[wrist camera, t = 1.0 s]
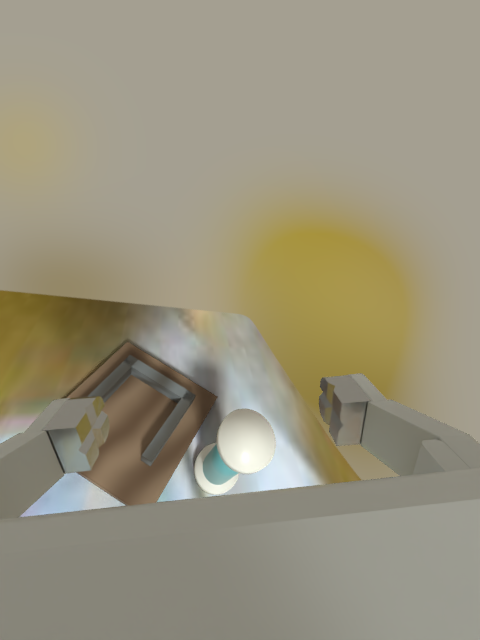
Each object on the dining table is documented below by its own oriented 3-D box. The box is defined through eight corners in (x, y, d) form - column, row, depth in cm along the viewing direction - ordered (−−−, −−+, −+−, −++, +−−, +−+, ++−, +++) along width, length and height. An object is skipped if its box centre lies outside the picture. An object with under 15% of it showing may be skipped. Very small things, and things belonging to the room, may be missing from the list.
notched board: (27, 439, 33) (18, 429, 31) (127, 346, 46) (127, 332, 43) (146, 519, 32) (148, 515, 29) (215, 400, 45) (221, 390, 42)
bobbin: (185, 479, 36) (208, 449, 26) (207, 437, 41) (234, 398, 31) (225, 504, 36) (263, 485, 26) (243, 459, 40) (282, 427, 30)
